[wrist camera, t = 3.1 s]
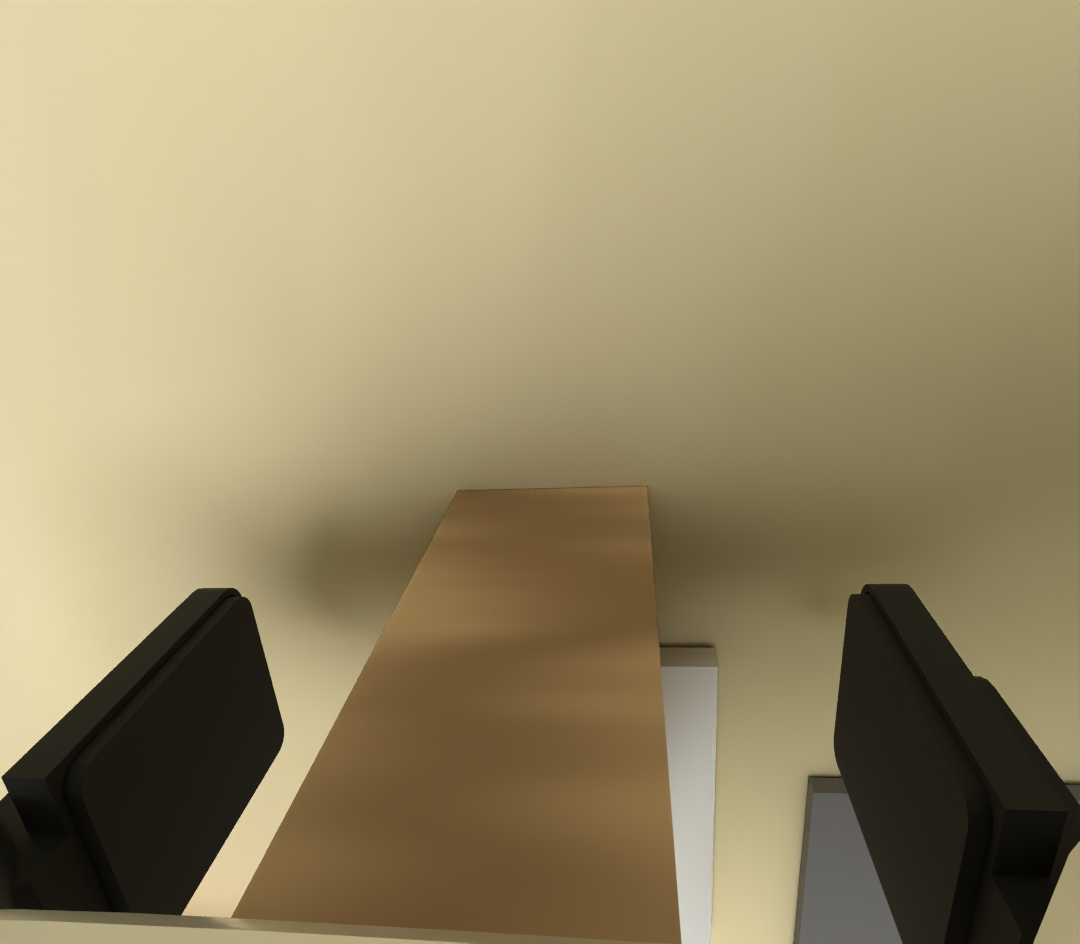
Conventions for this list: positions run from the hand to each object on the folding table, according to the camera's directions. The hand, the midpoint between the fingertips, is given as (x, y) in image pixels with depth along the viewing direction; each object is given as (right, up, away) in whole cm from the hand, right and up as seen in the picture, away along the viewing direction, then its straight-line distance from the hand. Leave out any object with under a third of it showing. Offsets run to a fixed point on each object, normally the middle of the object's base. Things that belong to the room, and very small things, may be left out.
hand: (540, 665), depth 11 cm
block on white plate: (+1, -3, +4) cm, 5 cm away
